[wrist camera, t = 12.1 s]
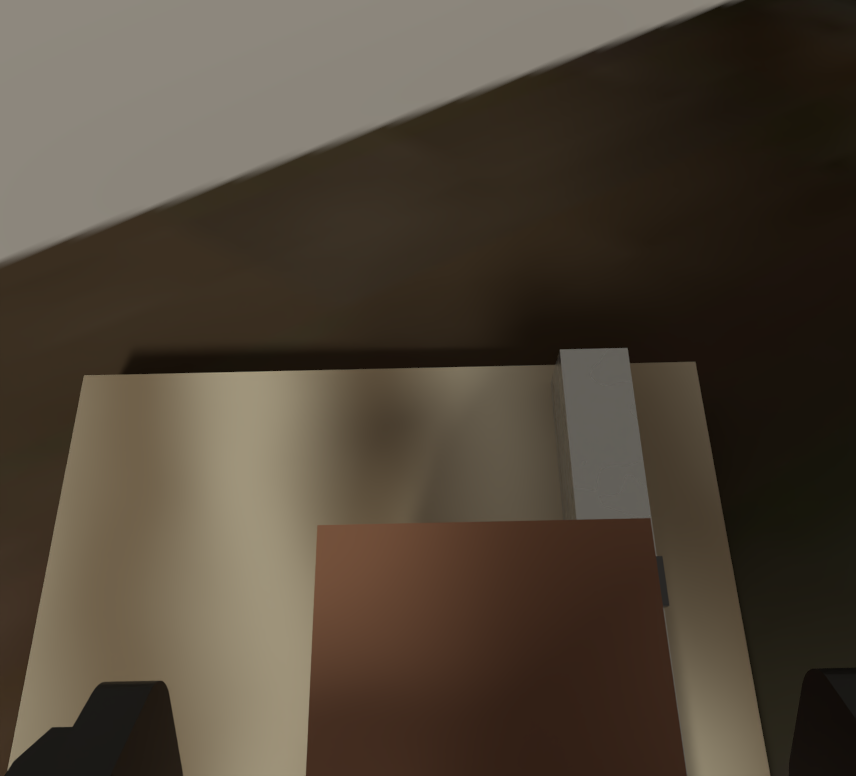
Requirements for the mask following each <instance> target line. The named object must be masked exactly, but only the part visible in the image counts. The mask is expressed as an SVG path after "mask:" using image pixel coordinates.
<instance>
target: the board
mask: <svg viewBox="0 0 856 776" xmlns="http://www.w3.org/2000/svg"><path fill="white" fill-rule="evenodd" d="M554 368H555V365H529V366H485V367H441V368H396V369H352V370H307V371H263V372H218V373H174V374H130V375H85V376H84V379H83V384H82V389H81V394H80V399H79V404H78V409H77V415H76V420H75V425H74V430H73V435H72V440H71V446H70V451H69V456H68V461H67V466H66V471H65V476H64V482H63V487H62V492H61V497H60V502H59V507H58V513H57V518H56V523H55V528H54V533H53V538H52V543H51V549H50V554H49V559H48V564H47V569H46V574H45V580H44V585H43V590H42V595H41V600H40V605H39V610H38V616H37V621H36V626H35V631H34V636H33V641H32V647H31V652H30V657H29V662H28V667H27V672H26V677H25V683H24V688H23V693H22V698H21V703H20V708H19V714H18V719H17V724H16V729H15V734H14V739H13V744H12V750H11V755H10V760H9V765H8V769H9V768H10V766H11V765H12V763H13V761H15V760H16V759H17V758H18V757H19V756H20V755H21V754H22V753H24V752H25V751H26V750H27V749H28V748H29V747H30V746H31V745H33V744H34V743H35V742H36V741H37V740H38V739H39V738H40V737H42V736H43V735H44V734H45V733H46V732H47V731H48V730H49V729H51V728H52V727H73V725H74V723H75V722H76V720H77V718H78V716H79V715H80V713H81V711H82V709H83V708H84V706H85V704H86V702H87V701H88V699H89V697H90V695H91V694H92V692H93V691H94V689H95V688H96V687H97V686H98V684H100V683H101V682H114V681H163V682H164V683H165V684H166V685H167V688H168V691H169V695H170V701H171V707H172V712H173V718H174V724H175V730H176V736H177V741H178V747H179V753H180V759H181V765H182V771H183V776H306V759H307V738H308V716H309V694H310V672H311V650H312V628H313V606H314V584H315V563H316V541H317V525H350V524H397V523H444V522H491V521H537V520H563V513H562V502H561V491H560V480H559V469H558V458H557V447H556V436H555V425H554V414H553V403H552V392H551V379H552V376H553V372H554ZM630 369H631V376H632V383H633V391H634V398H635V405H636V412H637V419H638V426H639V433H640V440H641V447H642V455H643V462H644V469H645V476H646V483H647V490H648V497H649V504H650V511H651V519H652V526H653V533H654V540H655V547H656V554H657V556H662V557H663V564H664V571H665V577H666V584H667V591H668V598H669V605H670V606H668V607H667V608H664V611H665V618H666V625H667V632H668V640H669V647H670V654H671V661H672V668H673V675H674V682H675V689H676V697H677V704H678V711H679V718H680V725H681V732H682V739H683V746H684V753H685V761H686V768H687V775H688V776H770V771H769V766H768V760H767V755H766V749H765V744H764V738H763V733H762V727H761V721H760V716H759V710H758V705H757V699H756V694H755V688H754V683H753V677H752V672H751V666H750V661H749V655H748V650H747V644H746V639H745V633H744V628H743V622H742V617H741V611H740V606H739V600H738V594H737V589H736V583H735V578H734V572H733V567H732V561H731V556H730V550H729V545H728V539H727V534H726V528H725V523H724V517H723V512H722V506H721V501H720V495H719V490H718V484H717V479H716V473H715V468H714V462H713V456H712V451H711V445H710V440H709V434H708V429H707V423H706V418H705V412H704V407H703V401H702V396H701V390H700V385H699V379H698V374H697V368H696V363H695V362H663V363H630ZM7 771H8V770H7Z"/></svg>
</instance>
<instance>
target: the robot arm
mask: <svg viewBox="0 0 856 776" xmlns="http://www.w3.org/2000/svg"><path fill="white" fill-rule="evenodd" d="M5 776H183V771H182V765H181V759H180V753H179V747H178V741H177V736H176V730H175V724H174V718H173V712H172V707H171V701H170V695H169V691H168V688H167V685H166V684H165V683H164V682H163V681H114V682H101V683H100V684H98V686H97V687H96V688H95V689H94V691H93V692H92V694H91V695H90V697H89V699H88V701H87V702H86V704H85V706H84V708H83V709H82V711H81V713H80V715H79V716H78V718H77V720H76V722H75V723H74V725H73V727H52V728H51V729H49V730H48V731H47V732H46V733H45V734H44V735H43V736H42V737H40V738H39V739H38V740H37V741H36V742H35V743H34V744H33V745H31V746H30V747H29V748H28V749H27V750H26V751H25V752H24V753H22V754H21V755H20V756H19V757H18V758H17V759H16V760H15V761H13V763H12V765H11V766H10V768H9V769H8V771H7V773H6V774H5ZM789 776H856V668H823V669H810V670H809V671H808V672H807V673H806V675H805V677H804V680H803V684H802V690H801V696H800V702H799V708H798V714H797V720H796V726H795V732H794V737H793V743H792V749H791V755H790V762H789Z"/></svg>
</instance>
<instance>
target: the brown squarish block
mask: <svg viewBox="0 0 856 776" xmlns="http://www.w3.org/2000/svg"><path fill="white" fill-rule="evenodd" d="M306 776H687V773H686V766H685V759H684V752H683V744H682V737H681V730H680V723H679V716H678V709H677V702H676V695H675V688H674V681H673V674H672V667H671V660H670V653H669V646H668V638H667V631H666V624H665V617H664V610H663V603H662V596H661V589H660V582H659V575H658V568H657V561H656V554H655V547H654V539H653V532H652V525H651V518H631V519H584V520H537V521H491V522H444V523H397V524H350V525H317V541H316V563H315V584H314V606H313V628H312V650H311V672H310V694H309V716H308V738H307V759H306Z"/></svg>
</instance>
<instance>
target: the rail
mask: <svg viewBox="0 0 856 776" xmlns="http://www.w3.org/2000/svg"><path fill="white" fill-rule="evenodd" d="M551 392H552V403H553V414H554V425H555V436H556V447H557V458H558V469H559V480H560V491H561V502H562V513H563V520H584V519H631V518H651V511H650V504H649V497H648V490H647V483H646V476H645V469H644V462H643V455H642V447H641V440H640V433H639V426H638V419H637V412H636V405H635V398H634V391H633V383H632V376H631V369H630V362H629V355H628V348H604V349H560V351H559V354H558V358H557V361H556V365H555V368H554V372H553V376H552V379H551ZM651 525H652V519H651ZM652 532H653V526H652ZM653 539H654V533H653ZM654 547H655V540H654ZM655 554H656V547H655ZM656 561H657V568H658V575H659V582H660V589H661V596H662V603H663V610H664V608H667V607H668V606H670V605H669V598H668V591H667V584H666V577H665V571H664V564H663V557H662V556H657V554H656ZM664 617H665V611H664ZM665 624H666V618H665ZM666 631H667V625H666ZM667 638H668V632H667ZM668 646H669V640H668ZM669 653H670V647H669ZM670 660H671V654H670ZM671 667H672V661H671ZM672 674H673V668H672ZM673 681H674V675H673ZM674 688H675V682H674ZM675 695H676V689H675ZM676 702H677V697H676ZM677 709H678V704H677ZM678 716H679V711H678ZM679 723H680V718H679ZM680 730H681V725H680ZM681 737H682V732H681ZM682 744H683V739H682ZM683 752H684V746H683ZM684 759H685V753H684ZM685 766H686V761H685ZM686 773H687V768H686ZM687 776H688V775H687Z"/></svg>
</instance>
